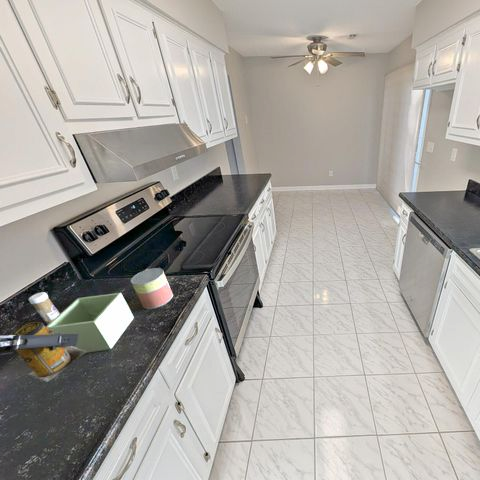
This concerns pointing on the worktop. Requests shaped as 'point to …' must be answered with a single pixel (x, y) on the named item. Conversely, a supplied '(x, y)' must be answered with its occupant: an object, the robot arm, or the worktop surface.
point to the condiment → (46, 354)
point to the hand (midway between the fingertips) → (61, 341)
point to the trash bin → (94, 321)
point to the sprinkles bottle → (44, 307)
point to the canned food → (152, 288)
